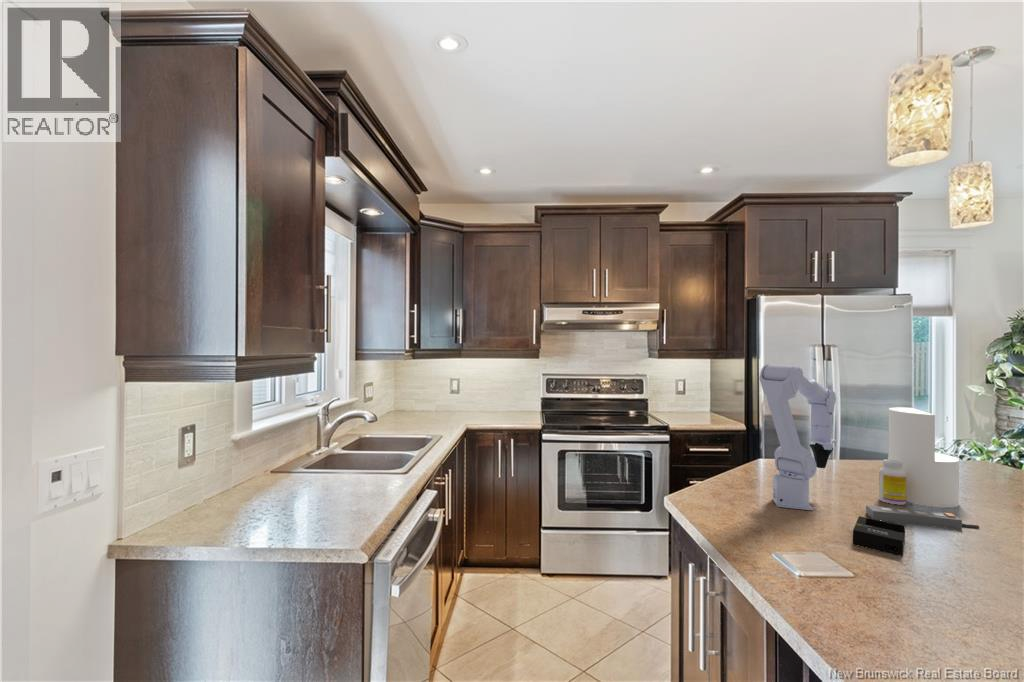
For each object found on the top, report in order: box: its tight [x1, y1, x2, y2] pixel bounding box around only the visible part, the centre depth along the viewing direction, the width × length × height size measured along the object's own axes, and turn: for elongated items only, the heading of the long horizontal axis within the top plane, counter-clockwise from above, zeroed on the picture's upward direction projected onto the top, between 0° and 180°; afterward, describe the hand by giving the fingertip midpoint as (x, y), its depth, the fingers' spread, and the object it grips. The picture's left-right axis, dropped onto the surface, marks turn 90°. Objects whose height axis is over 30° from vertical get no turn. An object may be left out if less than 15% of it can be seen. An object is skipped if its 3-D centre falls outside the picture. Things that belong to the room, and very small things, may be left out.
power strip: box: [865, 504, 980, 530], centre depth 131 cm, size 25×5×3 cm, turn 72°
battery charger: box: [851, 515, 906, 557], centre depth 118 cm, size 13×10×4 cm
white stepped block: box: [887, 407, 960, 508], centre depth 152 cm, size 17×17×28 cm
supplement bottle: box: [878, 458, 907, 506], centre depth 148 cm, size 7×7×13 cm
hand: (820, 467), depth 152 cm, fingers closed
